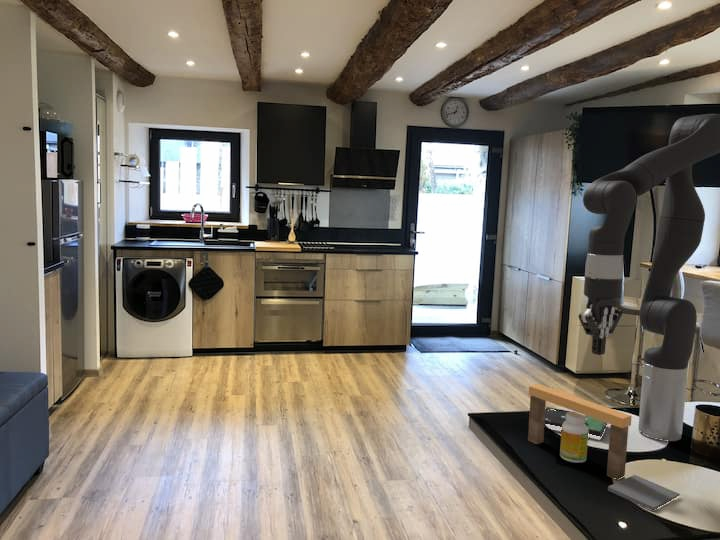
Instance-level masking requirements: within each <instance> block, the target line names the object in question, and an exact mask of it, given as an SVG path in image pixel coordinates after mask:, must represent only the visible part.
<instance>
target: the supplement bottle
mask: <svg viewBox="0 0 720 540" xmlns="http://www.w3.org/2000/svg"><path fill="white" fill-rule="evenodd" d="M585 420H586V416H585V415H584V414H581V413H578V412H575V411H571V412H567V413H566V422H564V423H563V424H562V430H561V432H560V433H561V434H560V447H559V448H560V449H559V456H560V457H561V459H563V460H564V461H566V462H570V463H574V464H575V463H576V464H577V463H578V464H579V463H581V464H582V463H585V462H586V461H587V455H588V443H589V441H588V440H589V438H588V427H587V426H586V425H585V424H584V423H585Z"/></svg>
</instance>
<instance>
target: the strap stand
mask: <svg viewBox="0 0 720 540" xmlns="http://www.w3.org/2000/svg"><path fill="white" fill-rule="evenodd" d="M529 396H530V397H529V399H530V400H529V415H528V416H529V417H528V435H527V440H528V442H531V443H532V444H534V445H539V444H541V443H544V440H545V439H544V438H545V437H544V436H545V429H544V422H545V409H546V402H547V401H545V400H542V399H540V398H537V397H534V396H531V395H529ZM609 425H610V427H609V440H608V453H607V465H606V476H607V477H609V478H611V479H613V478H616V479H619V478H621V477H623V476H624V475H626V462H627V452H628V438H629V426H628V427H625V428H619V427H617V426H614V425H611V424H609Z"/></svg>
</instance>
